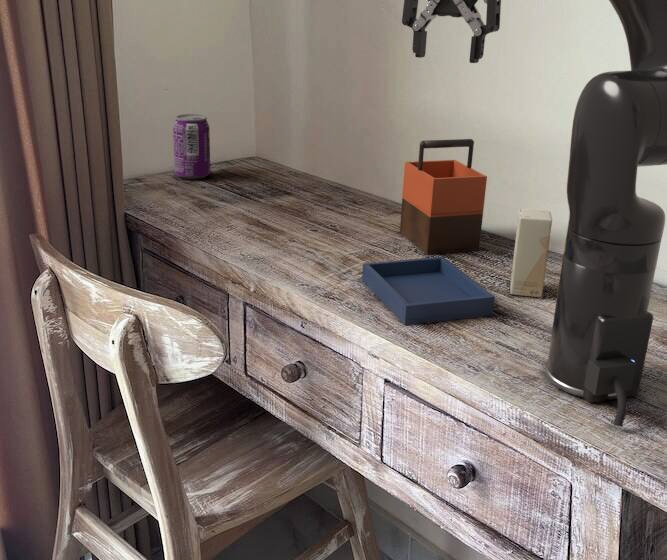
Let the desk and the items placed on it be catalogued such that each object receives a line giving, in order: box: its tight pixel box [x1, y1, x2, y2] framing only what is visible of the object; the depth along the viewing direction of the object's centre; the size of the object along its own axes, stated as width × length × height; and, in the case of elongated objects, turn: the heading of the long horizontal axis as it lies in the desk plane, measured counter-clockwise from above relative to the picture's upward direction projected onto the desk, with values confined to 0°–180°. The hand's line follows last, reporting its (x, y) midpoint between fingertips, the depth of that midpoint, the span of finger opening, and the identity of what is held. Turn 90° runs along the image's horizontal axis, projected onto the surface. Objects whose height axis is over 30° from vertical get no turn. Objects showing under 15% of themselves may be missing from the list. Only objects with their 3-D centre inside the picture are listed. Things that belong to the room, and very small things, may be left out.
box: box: [509, 208, 553, 298], centre depth 112 cm, size 5×4×11 cm
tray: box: [361, 256, 496, 326], centre depth 109 cm, size 15×12×3 cm
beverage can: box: [172, 113, 211, 180], centre depth 162 cm, size 7×7×12 cm
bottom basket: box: [399, 198, 484, 255], centre depth 131 cm, size 11×9×6 cm
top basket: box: [401, 138, 488, 217], centre depth 128 cm, size 11×9×11 cm
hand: (446, 59), depth 120 cm, fingers open, 8 cm apart
